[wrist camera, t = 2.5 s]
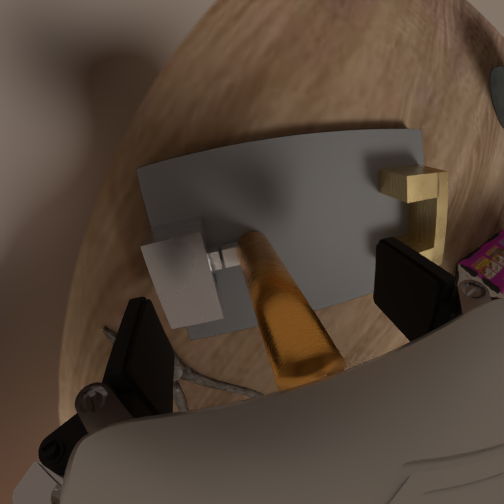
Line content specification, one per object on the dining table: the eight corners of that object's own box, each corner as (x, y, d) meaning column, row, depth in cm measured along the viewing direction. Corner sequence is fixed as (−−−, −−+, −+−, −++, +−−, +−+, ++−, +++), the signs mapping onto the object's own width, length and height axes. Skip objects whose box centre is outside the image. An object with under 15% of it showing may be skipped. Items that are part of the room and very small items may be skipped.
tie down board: (408, 128, 16) (421, 129, 15) (408, 268, 21) (418, 275, 20) (141, 166, 15) (135, 169, 13) (191, 327, 20) (191, 340, 18)
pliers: (226, 443, 27) (73, 367, 19) (225, 438, 27) (75, 360, 20) (288, 409, 25) (121, 308, 18) (286, 403, 26) (124, 302, 18)
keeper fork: (419, 164, 16) (448, 171, 13) (417, 248, 19) (441, 264, 16) (377, 169, 16) (406, 176, 13) (379, 260, 18) (402, 279, 16)
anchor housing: (201, 215, 15) (200, 231, 12) (220, 290, 17) (224, 318, 14) (151, 227, 15) (140, 246, 12) (175, 300, 17) (171, 329, 14)
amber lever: (266, 227, 16) (346, 342, 7) (271, 258, 17) (342, 385, 7) (153, 253, 15) (105, 390, 6) (163, 283, 16) (136, 426, 7)
